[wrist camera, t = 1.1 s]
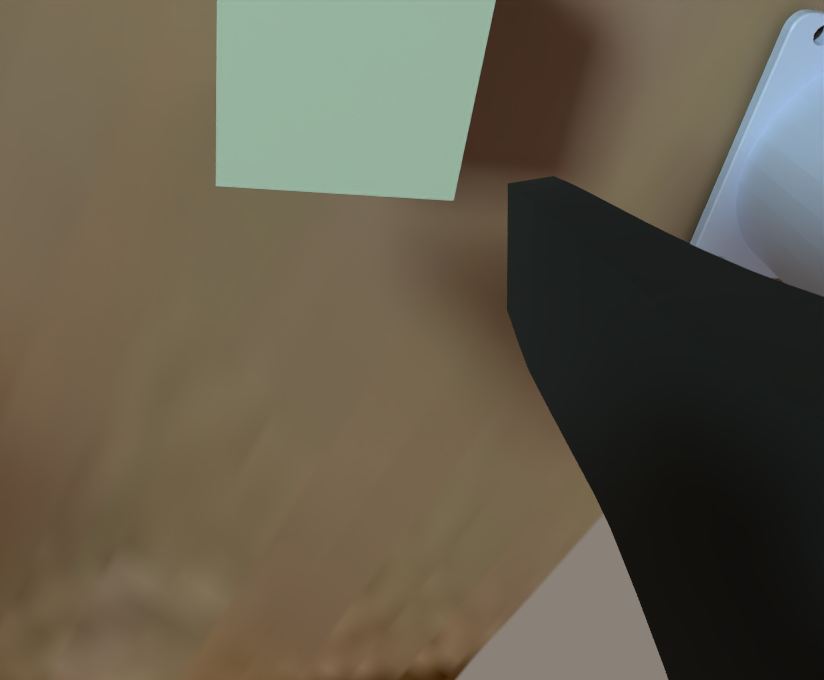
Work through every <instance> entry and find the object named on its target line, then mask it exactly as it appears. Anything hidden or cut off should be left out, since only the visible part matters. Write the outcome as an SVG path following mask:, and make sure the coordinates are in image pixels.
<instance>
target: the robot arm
mask: <svg viewBox="0 0 824 680" xmlns="http://www.w3.org/2000/svg"><path fill="white" fill-rule="evenodd" d="M823 25H824V11H817V10H810V9H805V10H800V11H798V12H796V13H794V14H793V15H792V16H791V17H790V18H788V19H787V21H786V23H785V24H784V26H783V28H782V30H781V33H780V35H779V37H778V39H777V42H776V44H775V46H774V49H773V51H772V53H771V56H770V58H769V60H768V63H767V65H766V67H765V70H764V72H763V74H762V77H761V79H760V81H759V84H758V86H757V88H756V91H755V93H754V95H753V98H752V100H751V102H750V105H749V107H748V109H747V112H746V114H745V116H744V119H743V121H742V123H741V126H740V128H739V130H738V132H737V135H736V137H735V139H734V142H733V144H732V146H731V149H730V151H729V153H728V156H727V158H726V160H725V163H724V165H723V167H722V170H721V172H720V174H719V177H718V179H717V181H716V184H715V186H714V188H713V191H712V193H711V195H710V198H709V200H708V202H707V205H706V207H705V209H704V212H703V214H702V216H701V219H700V221H699V223H698V225H697V228H696V230H695V232H694V235H693V237H692V239H691V242H690V244H689V243H687V242H685V241H683V240H681V239H679V238H677V237H675V236H673V235H671V234H668V233H666V232H664V231H662V230H660V229H658V228H656V227H654V226H652V225H650V224H648V223H646V222H644V221H643V220H641V219H639V218H637V217H635V216H633V215H631V214H629V213H627V212H625V211H623V210H621V209H619V208H617V207H616V206H614V205H612V204H610V203H608V202H606V201H604V200H602V199H600V198H598V197H596V196H594V195H593V194H591V193H589V192H587V191H585V190H583V189H581V188H579V187H577V186H575V185H573V184H570V183H568V182H566V181H564V180H561V179H559V178H556V177H554V176H552V177H546V178H540V179H534V180H528V181H522V182H516V183H509V184H508V271H507V311H508V314H509V316H510V319H511V322H512V325H513V328H514V331H515V334H516V337H517V340H518V343H519V345H520V348H521V351H522V353H523V356H524V359H525V361H526V364H527V367H528V369H529V371H530V373H531V375H532V377H533V379H534V381H535V383H536V385H537V387H538V389H539V391H540V393H541V395H542V397H543V399H544V400H545V402H546V404H547V406H548V408H549V410H550V412H551V414H552V416H553V418H554V420H555V421H556V423H557V425H558V427H559V429H560V431H561V433H562V435H563V436H564V438H565V440H566V442H567V444H568V446H569V448H570V450H571V451H572V453H573V455H574V457H575V459H576V461H577V463H578V465H579V467H580V468H581V470H582V472H583V474H584V476H585V478H586V480H587V482H588V483H589V485H590V487H591V489H592V491H593V493H594V495H595V497H596V499H597V501H598V503H599V505H600V507H601V509H602V511H603V513H604V515H605V518H606V520H607V521H608V524H609V526H610V528H611V531H612V533H613V535H614V538H615V541H616V543H617V546H618V548H619V551H620V553H621V556H622V558H623V561H624V563H625V566H626V568H627V571H628V573H629V576H630V578H631V581H632V583H633V586H634V588H635V591H636V593H637V596H638V598H639V601H640V604H641V607H642V609H643V612H644V614H645V617H646V620H647V623H648V625H649V628H650V631H651V633H652V636H653V639H654V641H655V644H656V646H657V649H658V652H659V655H660V657H661V660H662V662H663V665H664V668H665V671H666V674H667V677H668V679H669V680H824V29H823V32H822V34H821V35H820V36H819V37H818V38H817V39H815V40H813V38H814V34H815V32H816V31H817V30H818V29H819V28H820V27H821V26H823ZM718 256H719V257H718ZM772 278H778V279H780V280H781V281H782V282H780V281H777V280H774V279H772Z"/></svg>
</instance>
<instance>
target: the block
mask: <svg viewBox="0 0 824 680" xmlns="http://www.w3.org/2000/svg"><path fill="white" fill-rule="evenodd" d="M495 2H496V0H217V85H216V186H224V187H240V188H256V189H273V190H289V191H305V192H321V193H337V194H353V195H369V196H385V197H401V198H418V199H434V200H450V201H454V196H455V192H456V187H457V182H458V177H459V173H460V168H461V163H462V158H463V154H464V149H465V144H466V139H467V135H468V130H469V125H470V120H471V116H472V111H473V106H474V101H475V97H476V92H477V87H478V82H479V78H480V73H481V68H482V63H483V59H484V54H485V49H486V44H487V40H488V35H489V30H490V25H491V21H492V16H493V11H494V6H495Z"/></svg>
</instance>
